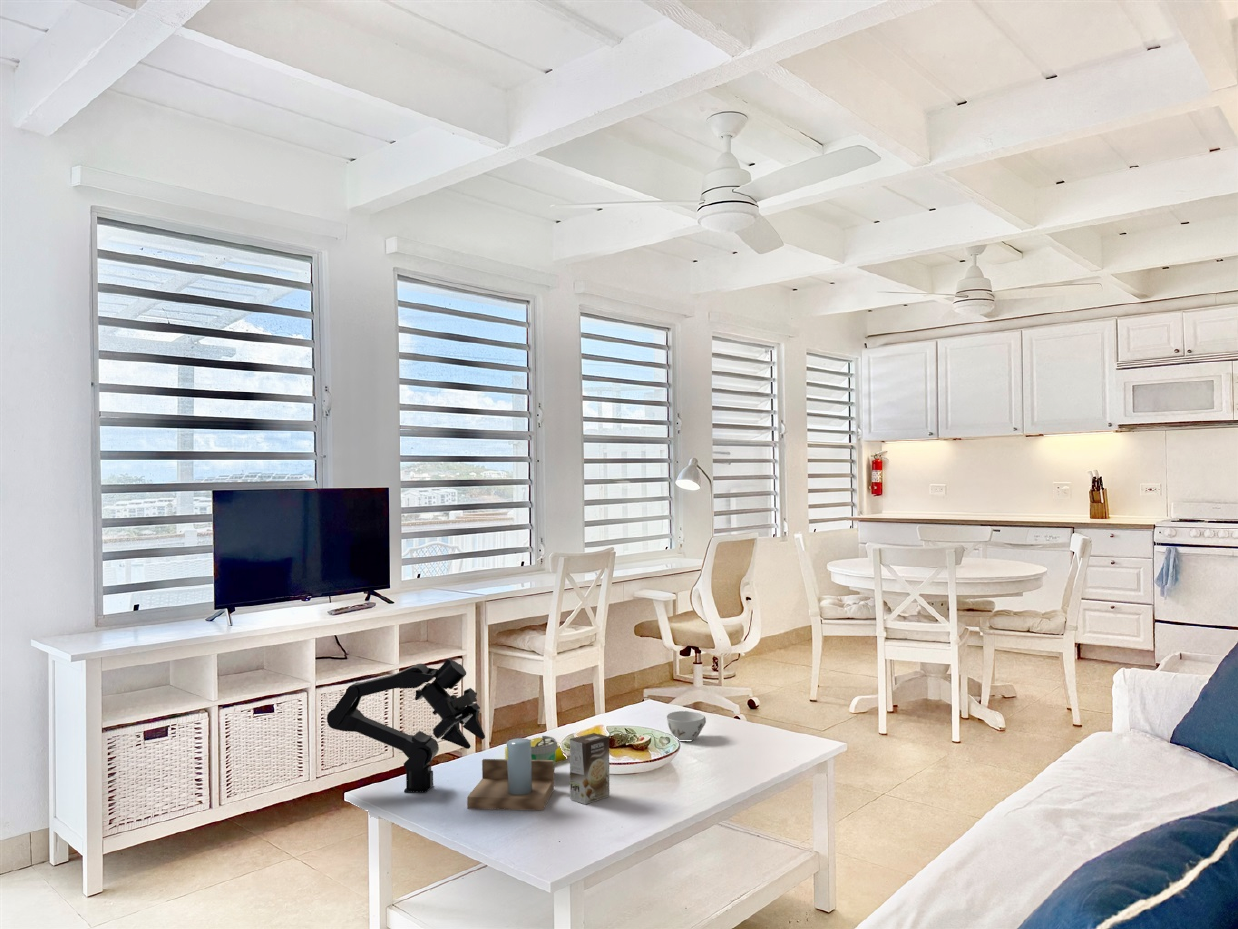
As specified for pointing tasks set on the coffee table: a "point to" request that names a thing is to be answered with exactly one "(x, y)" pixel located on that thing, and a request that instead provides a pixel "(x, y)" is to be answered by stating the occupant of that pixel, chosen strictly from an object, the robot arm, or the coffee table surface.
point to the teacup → (685, 724)
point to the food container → (545, 749)
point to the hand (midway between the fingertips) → (476, 743)
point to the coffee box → (589, 768)
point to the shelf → (495, 787)
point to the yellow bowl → (558, 753)
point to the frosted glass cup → (519, 766)
